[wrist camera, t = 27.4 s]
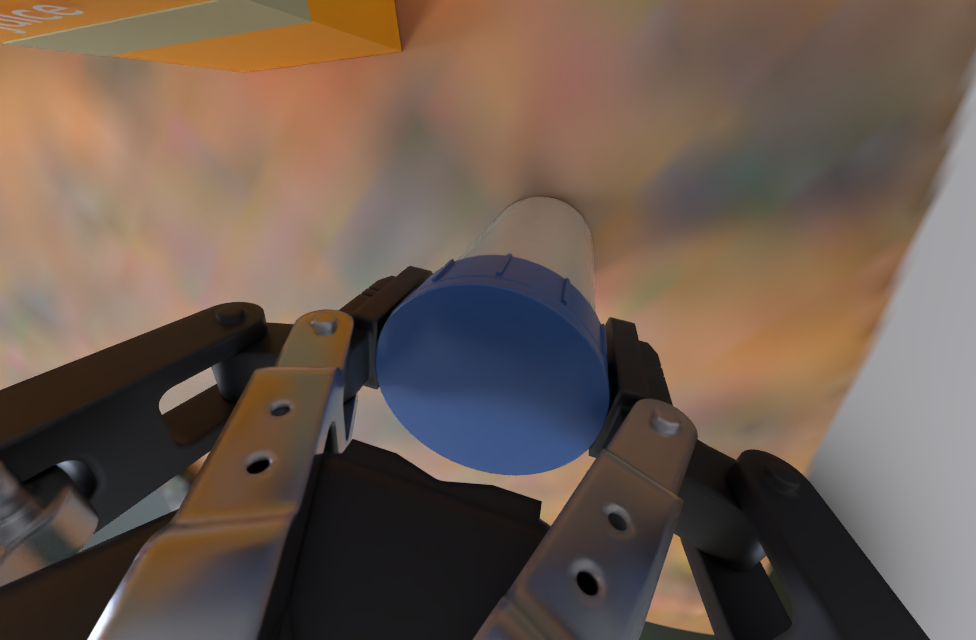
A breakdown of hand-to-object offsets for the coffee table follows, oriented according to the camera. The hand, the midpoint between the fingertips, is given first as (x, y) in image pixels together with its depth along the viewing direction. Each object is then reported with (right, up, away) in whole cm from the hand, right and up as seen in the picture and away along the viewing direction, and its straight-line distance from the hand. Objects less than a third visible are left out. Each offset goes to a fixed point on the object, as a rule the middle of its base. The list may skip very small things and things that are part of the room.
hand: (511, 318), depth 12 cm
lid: (-1, -2, -3) cm, 3 cm away
